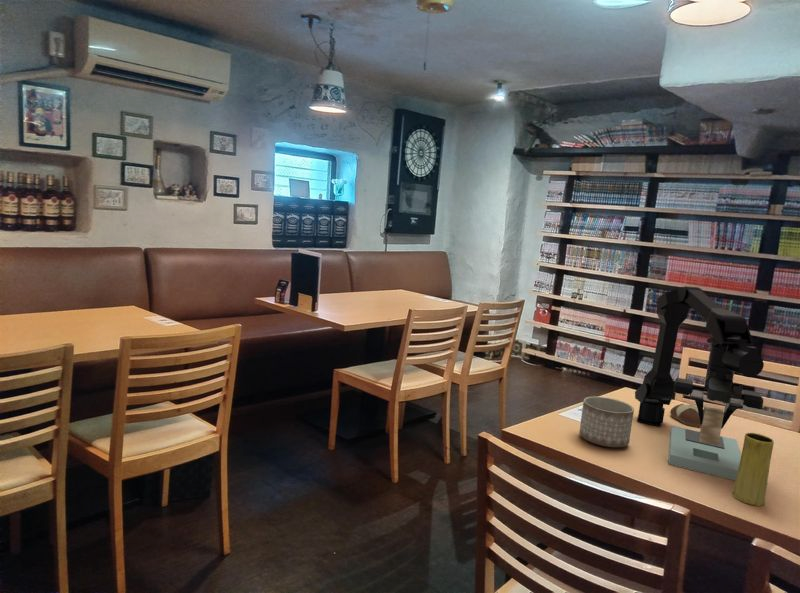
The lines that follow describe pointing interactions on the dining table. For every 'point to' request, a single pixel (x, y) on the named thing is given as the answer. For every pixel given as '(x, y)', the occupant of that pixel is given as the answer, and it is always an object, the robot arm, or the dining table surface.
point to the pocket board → (704, 453)
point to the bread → (686, 414)
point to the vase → (753, 469)
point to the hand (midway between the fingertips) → (711, 426)
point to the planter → (606, 421)
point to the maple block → (711, 425)
